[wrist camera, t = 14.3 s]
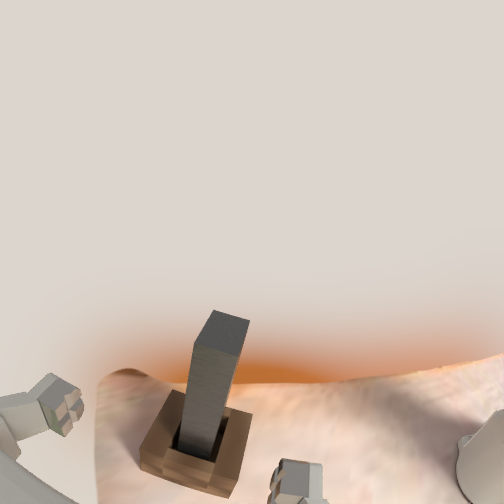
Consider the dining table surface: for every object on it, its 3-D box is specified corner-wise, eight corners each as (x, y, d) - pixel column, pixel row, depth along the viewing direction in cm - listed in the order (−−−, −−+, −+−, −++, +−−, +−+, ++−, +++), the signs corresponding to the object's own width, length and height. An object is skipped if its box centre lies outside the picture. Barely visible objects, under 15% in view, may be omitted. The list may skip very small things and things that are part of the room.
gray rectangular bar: (216, 438, 28) (249, 320, 24) (204, 472, 24) (238, 356, 19) (189, 429, 29) (213, 309, 24) (175, 462, 24) (194, 342, 19)
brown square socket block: (243, 437, 30) (252, 414, 29) (228, 498, 22) (237, 480, 21) (169, 414, 31) (172, 389, 30) (140, 469, 22) (139, 448, 21)
